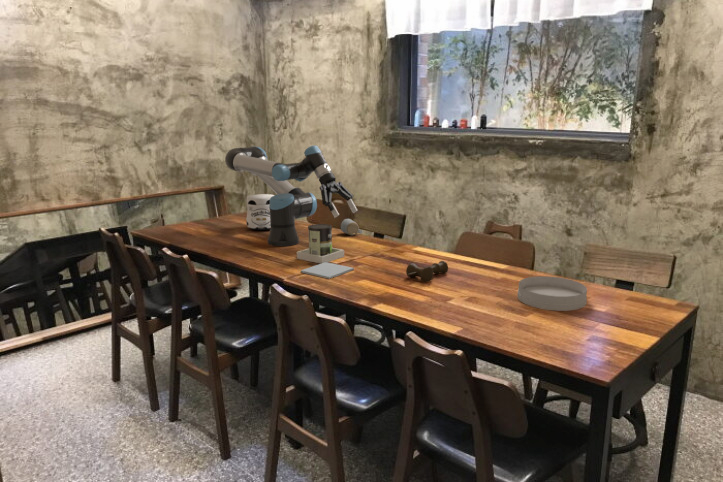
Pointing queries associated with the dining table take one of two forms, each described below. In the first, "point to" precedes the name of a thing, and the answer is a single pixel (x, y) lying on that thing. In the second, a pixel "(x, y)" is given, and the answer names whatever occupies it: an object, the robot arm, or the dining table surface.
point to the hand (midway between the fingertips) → (346, 214)
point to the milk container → (258, 212)
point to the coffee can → (320, 239)
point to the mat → (327, 270)
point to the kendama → (426, 270)
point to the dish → (552, 293)
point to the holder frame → (320, 259)
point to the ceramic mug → (350, 227)
